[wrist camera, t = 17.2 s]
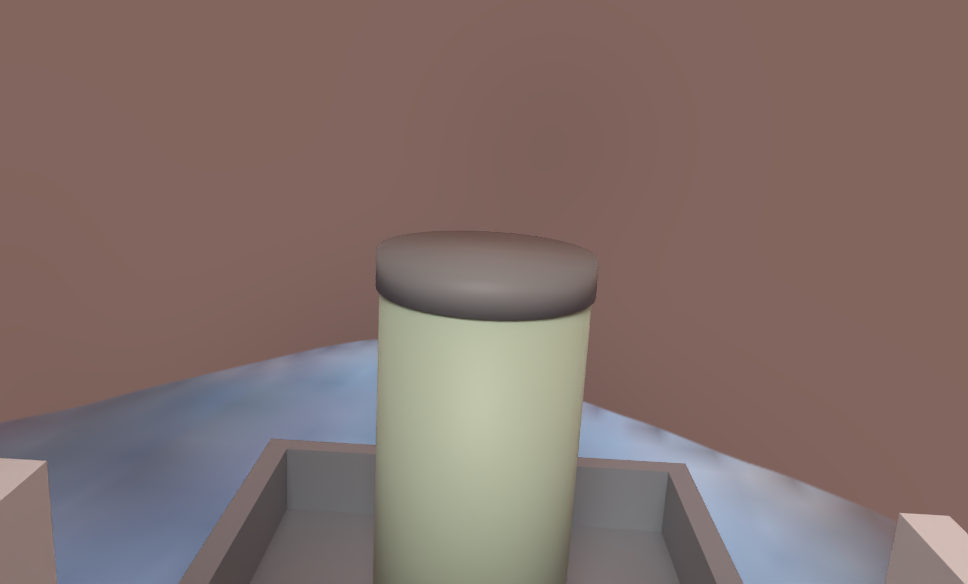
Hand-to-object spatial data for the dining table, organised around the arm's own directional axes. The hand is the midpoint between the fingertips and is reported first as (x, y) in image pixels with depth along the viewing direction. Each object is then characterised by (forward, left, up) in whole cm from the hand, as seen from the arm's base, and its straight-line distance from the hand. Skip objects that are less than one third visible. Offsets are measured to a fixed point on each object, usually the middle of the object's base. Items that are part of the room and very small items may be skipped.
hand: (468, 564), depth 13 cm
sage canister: (-5, +9, -9) cm, 13 cm away
